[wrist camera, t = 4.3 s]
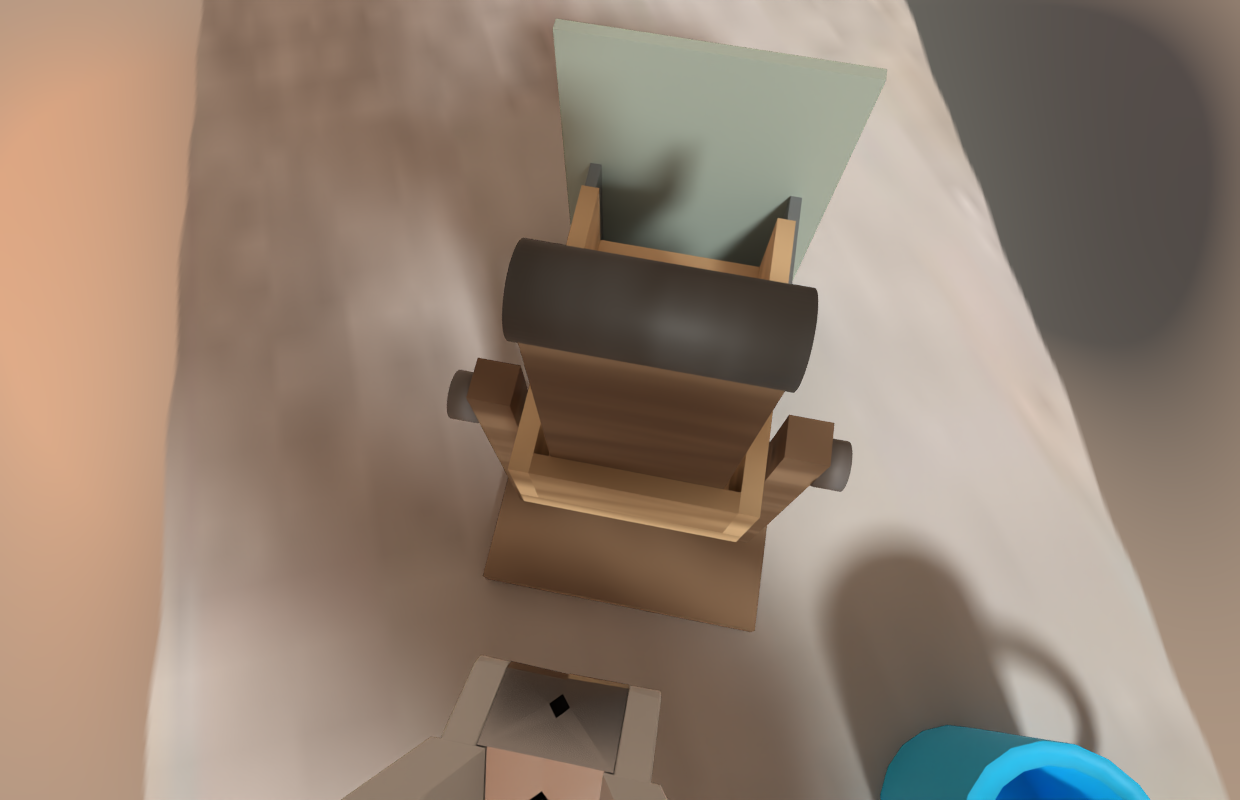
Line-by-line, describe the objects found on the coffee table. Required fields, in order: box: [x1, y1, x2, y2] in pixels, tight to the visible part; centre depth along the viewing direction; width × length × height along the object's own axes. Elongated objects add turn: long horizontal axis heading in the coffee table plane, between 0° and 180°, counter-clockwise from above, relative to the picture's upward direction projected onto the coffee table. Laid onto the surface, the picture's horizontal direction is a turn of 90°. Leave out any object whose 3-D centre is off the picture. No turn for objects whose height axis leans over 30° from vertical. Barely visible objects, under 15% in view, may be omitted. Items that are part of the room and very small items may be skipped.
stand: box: [447, 358, 852, 632], centre depth 31 cm, size 10×14×16 cm
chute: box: [502, 185, 818, 542], centre depth 19 cm, size 10×9×15 cm
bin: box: [553, 19, 887, 284], centre depth 35 cm, size 11×14×16 cm
